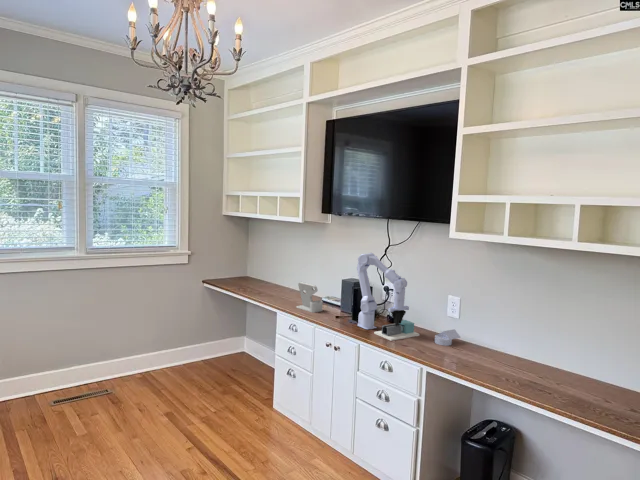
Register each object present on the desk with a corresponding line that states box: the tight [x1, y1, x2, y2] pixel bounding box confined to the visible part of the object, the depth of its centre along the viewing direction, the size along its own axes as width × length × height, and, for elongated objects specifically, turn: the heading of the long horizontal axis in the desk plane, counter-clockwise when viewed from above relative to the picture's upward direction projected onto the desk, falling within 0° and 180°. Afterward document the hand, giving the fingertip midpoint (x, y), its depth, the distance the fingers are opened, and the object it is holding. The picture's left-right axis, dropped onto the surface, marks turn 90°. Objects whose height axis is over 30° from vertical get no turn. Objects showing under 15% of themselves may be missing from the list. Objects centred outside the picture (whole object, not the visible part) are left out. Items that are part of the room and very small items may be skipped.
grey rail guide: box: [381, 323, 401, 336], centre depth 250 cm, size 5×10×5 cm, turn 124°
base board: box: [373, 330, 420, 341], centre depth 253 cm, size 14×22×1 cm, turn 124°
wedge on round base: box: [434, 328, 461, 347], centre depth 244 cm, size 9×7×13 cm
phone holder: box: [295, 281, 324, 313], centre depth 299 cm, size 17×10×18 cm, turn 46°
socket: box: [399, 319, 415, 334], centre depth 257 cm, size 7×6×6 cm
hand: (397, 323), depth 252 cm, fingers closed
